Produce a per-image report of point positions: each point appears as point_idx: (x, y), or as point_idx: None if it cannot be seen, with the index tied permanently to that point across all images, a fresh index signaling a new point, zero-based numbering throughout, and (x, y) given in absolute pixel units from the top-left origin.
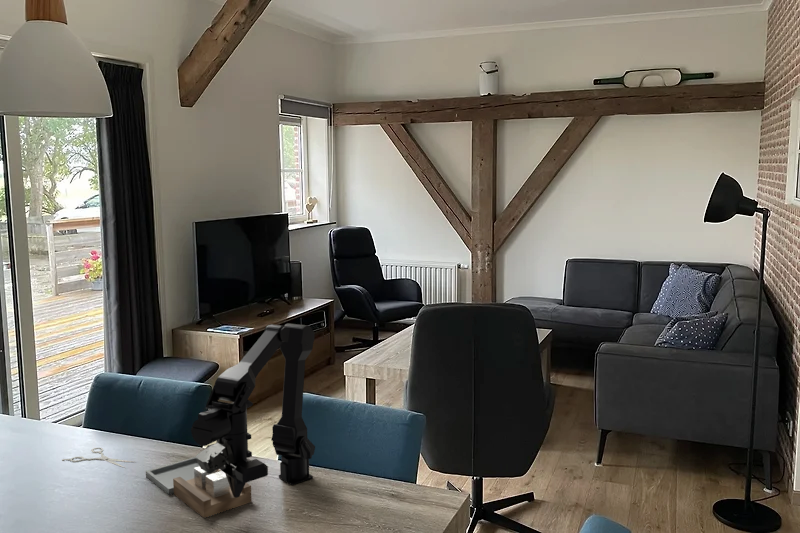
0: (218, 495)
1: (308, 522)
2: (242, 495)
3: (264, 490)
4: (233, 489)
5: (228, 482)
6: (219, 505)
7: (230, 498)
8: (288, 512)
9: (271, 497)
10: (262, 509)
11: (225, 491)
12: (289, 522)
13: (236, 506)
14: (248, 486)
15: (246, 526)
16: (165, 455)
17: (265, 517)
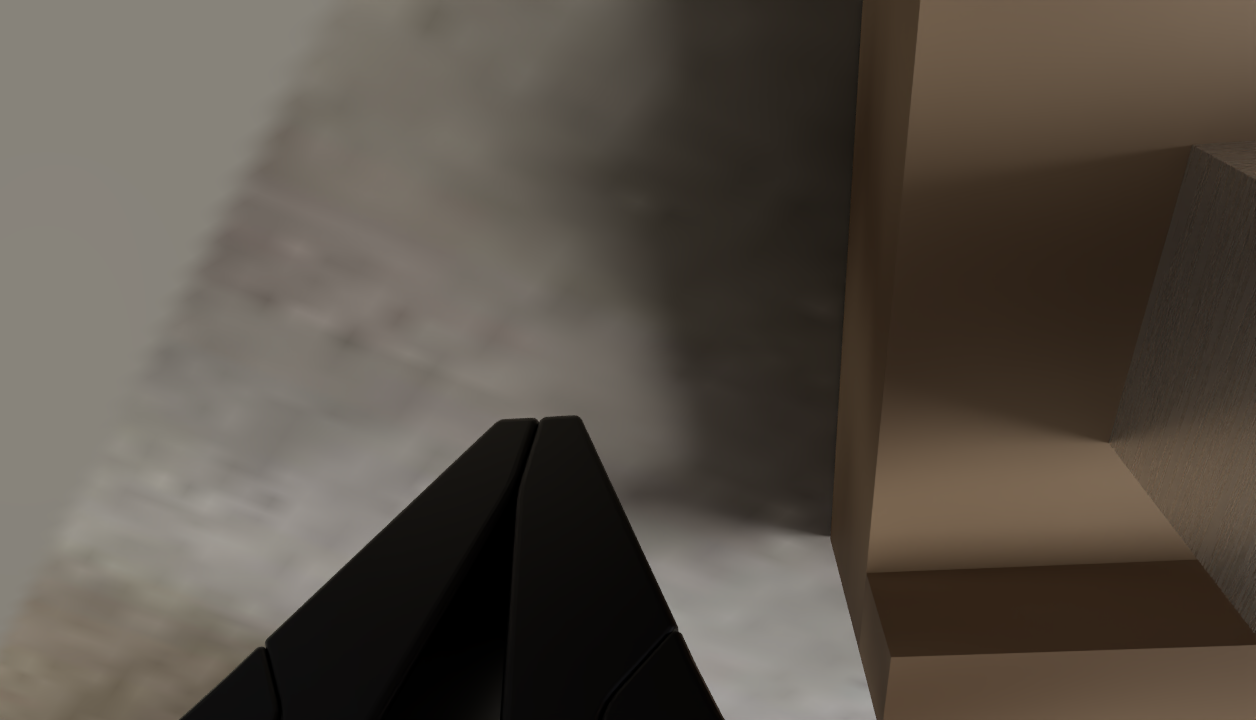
0: (1177, 251)
1: (64, 710)
2: (866, 536)
3: None
4: (437, 540)
5: (1230, 579)
6: (892, 129)
7: (898, 371)
8: None
9: (768, 698)
10: None
11: (1153, 404)
12: (126, 612)
13: (843, 364)
14: (887, 708)
15: (212, 238)
16: None
17: (352, 498)
